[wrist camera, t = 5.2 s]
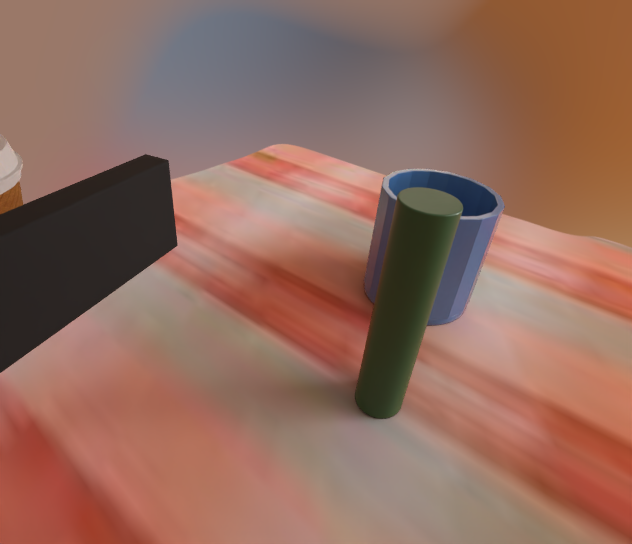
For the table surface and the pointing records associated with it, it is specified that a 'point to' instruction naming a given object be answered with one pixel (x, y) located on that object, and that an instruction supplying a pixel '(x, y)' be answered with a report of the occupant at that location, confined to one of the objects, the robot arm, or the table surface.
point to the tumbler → (467, 245)
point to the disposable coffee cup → (9, 177)
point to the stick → (405, 295)
